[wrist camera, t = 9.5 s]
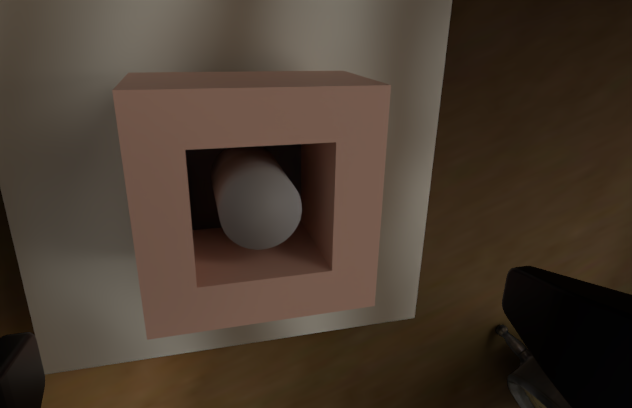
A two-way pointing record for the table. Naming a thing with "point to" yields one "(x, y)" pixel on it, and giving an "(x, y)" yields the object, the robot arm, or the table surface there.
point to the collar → (213, 244)
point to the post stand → (194, 153)
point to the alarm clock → (530, 379)
